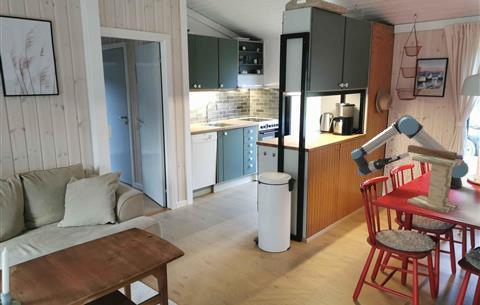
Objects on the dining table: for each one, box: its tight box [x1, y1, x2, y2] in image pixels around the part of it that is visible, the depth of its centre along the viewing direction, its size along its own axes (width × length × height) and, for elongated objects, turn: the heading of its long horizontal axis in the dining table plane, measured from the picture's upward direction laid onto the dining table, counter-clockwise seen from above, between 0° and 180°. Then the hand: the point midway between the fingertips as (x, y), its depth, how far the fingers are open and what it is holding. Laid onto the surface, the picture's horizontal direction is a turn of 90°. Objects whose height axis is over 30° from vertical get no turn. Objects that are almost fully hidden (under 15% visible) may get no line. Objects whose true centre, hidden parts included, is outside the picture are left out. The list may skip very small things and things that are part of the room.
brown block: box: [406, 144, 458, 160], centre depth 220 cm, size 4×28×4 cm, turn 34°
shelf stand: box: [407, 154, 465, 215], centre depth 215 cm, size 16×22×29 cm
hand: (402, 155), depth 236 cm, fingers open, 13 cm apart
